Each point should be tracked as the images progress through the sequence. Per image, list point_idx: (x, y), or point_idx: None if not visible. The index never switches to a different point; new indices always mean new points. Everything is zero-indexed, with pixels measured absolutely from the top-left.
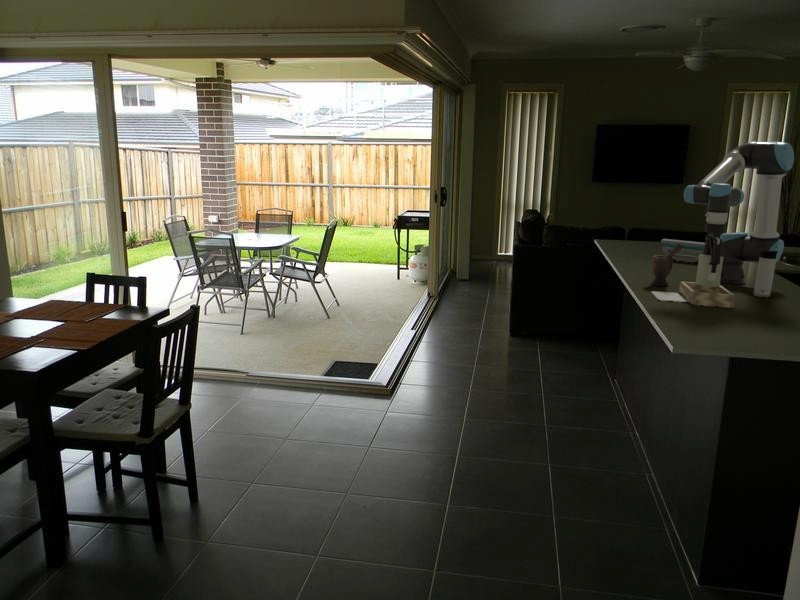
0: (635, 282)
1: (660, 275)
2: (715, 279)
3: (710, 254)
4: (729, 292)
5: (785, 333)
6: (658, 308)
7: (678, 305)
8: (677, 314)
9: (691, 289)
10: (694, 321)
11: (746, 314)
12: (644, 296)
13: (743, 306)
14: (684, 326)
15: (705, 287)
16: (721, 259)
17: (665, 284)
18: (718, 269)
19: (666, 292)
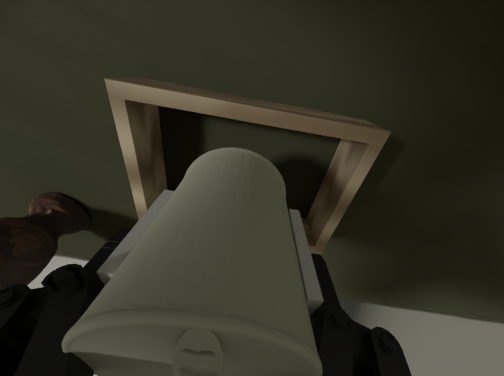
0: (71, 249)
1: (56, 242)
2: (299, 215)
3: (73, 360)
4: (326, 128)
5: None
6: (339, 287)
7: None
8: (392, 277)
9: None
10: (455, 273)
11: (466, 118)
12: None
13: (345, 51)
14: (476, 295)
15: (144, 143)
16: (306, 335)
17: (75, 209)
18: (293, 247)
19: None
